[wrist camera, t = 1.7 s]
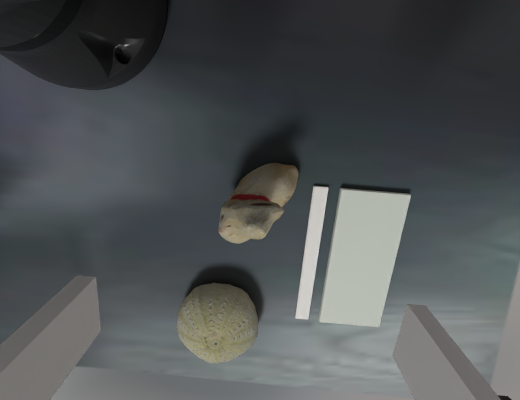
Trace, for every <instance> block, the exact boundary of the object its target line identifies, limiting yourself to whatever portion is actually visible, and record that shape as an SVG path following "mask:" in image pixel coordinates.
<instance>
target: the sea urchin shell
mask: <svg viewBox="0 0 520 400" xmlns="http://www.w3.org/2000/svg"><path fill="white" fill-rule="evenodd" d="M177 315H178V320H177V321H178V322H177V330H178V334H179V338H180V339H181V341H182V342H183V343H184V344H185V346H186V347H187V348H188V350H190V351H191V352H193V353H194V354H195V355H197V356H198V357H199V358H201V359H203V360H205V361H207V362H209V363H220V362H227V361H230V360H231V359H233V358H235V357H237V356H240V355H241V354H243V353H244V352H245V351H246V350H247V349H248V348H249V347H251V345H253V343H254V341H255V339H256V337H257V334H258V322H259V321H258V316H257V314H256V309H255V306H254V303H253V302H252V301H251V299H250V297H249V295H248V294H247V293H246V292H245V291H244V290H242V288H238V287H234V286H232V285H230V284H221V283H212V284H204V285H200V286H198V287H196V288H194V289H193V290H192V291H191V293H190V294H189V295H188V296H187V297H186V298H185V300H184V302H183V304H182V306H181V308H180V310H179V312H178V314H177Z"/></svg>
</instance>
